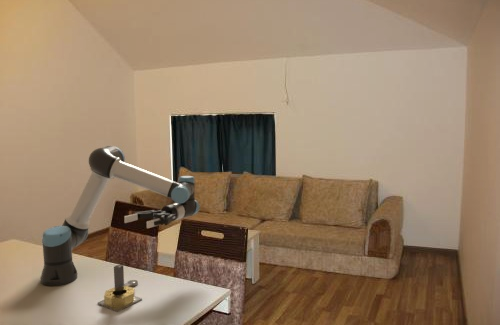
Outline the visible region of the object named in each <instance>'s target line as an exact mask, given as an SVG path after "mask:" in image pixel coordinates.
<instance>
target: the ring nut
mask: <svg viewBox="0 0 500 325" xmlns="http://www.w3.org/2000/svg"><path fill="white" fill-rule="evenodd" d="M104 292H105V293H104V294H103V295H104V296H103V298H104V299H102V300H99V301H98V302H97V305H98V306H101V307H104V308H107V309H109V310H111V311H114V312H116V313H118V312H120V311H123V310H125V309H126V308H128V307H131V306H132V305H135V304H136V303H139V302H140V301H143V297H142V298H141V297H139V296H136V294H135V293H136V292H135V288H134V287H128V286H124V294H122V295H115V286H114V287H112V288H109V289H107V290H105V291H104Z"/></svg>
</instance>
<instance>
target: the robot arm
mask: <svg viewBox="0 0 500 325" xmlns="http://www.w3.org/2000/svg"><path fill="white" fill-rule="evenodd" d="M125 160H126V159H125V155H124V152H123V151H122V150H121V149H120V148H119V147H117V146H115V145H107V146H105V147H100V148H95V149H94V150H93V151H92V152H91V153H90V154H89V157H88V165H89V168H90V171H91V174H90V175H89V177H88V179H87V182H86V184H85V186H84V188H83V190H82V191H81V194H80V196H79V197H78V200H77V202H76V204H75V206H74V208H73V210H72V212H71V213H70V215H67V216H66V217H65V218H64V222H63V223H62V225H57V226H53V227H50V228H48V229H45V230H44V232H43V233H42V240H41V242H42V253H43V255H42V256H43V268H42V270H41V276H40V284H41V285H43V286H46V287H47V286H48V287H54V286H56V287H57V286H62V285H67V284H69V283H73V282H74V281H76V280H77V279H78V270H77V268H76V265H75V264H74V261H73V250H74V249H75V248H77V247H79V246H80V245H81V244H83V243H84V242H85V241H86V239H87V238H88V236H89V229H90V226H91V224H90V220H91V218H92V216H93V214H94V211H95V209H96V207H97V206H98V204H99V202H100V200H101V198H102V196H103V193H104V192H105V189H106V187H107V186H108V183H109V181H110V180H114V178H116V179H119V180H122V181H124V182H127V183H130V184H131V185H135V186H137V187H140V188H143V189H145V190H149V191H151V192H153V193H156V194H159V195H161V196H164V197H167V198H170V199H171V200H172V202H173V203H171V204H167V205H165V206H162V207H161V209H160V210H156V209H152V210H145V211H143V210H142V211H134V212H133V214H129V215H124V216H123V217H124V222H123V223H124V224H127V223H132V222H134V221H138V220H143V219H144V220H146V219H151V220H147V221H146V229H150V228H154V227H157V226H160V225H161V226H168V225H169V224H171V223H173V221H178V220H181V219H184V218H185V219H186V218H189V217H192V216H194V215H197V214H198V213H199V211H200V207H201V206H200V203H199V202H198V201H197V200H196V197H195V196H196V195H195V191H196V190H195V186H196V182H195V177H194V176H192V175H181V176H179V177H178V182H177V181H174V180H171V179H169V178H166V177H164V176H161V175H159V174H156V173H154V172H150V171H147V170H145V169H143V168H141V167H138V166H135V165H133V164H129V163H127V162H126V161H125Z"/></svg>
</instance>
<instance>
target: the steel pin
mask: <svg viewBox="0 0 500 325" xmlns="http://www.w3.org/2000/svg"><path fill="white" fill-rule="evenodd" d="M124 269H125V268H124V265H123V264H117V265H114V266H113V277H114V278H113V280H114V281H113V283H114V287H115V295H122V294H124V284H125V274H124V273H125V272H124Z"/></svg>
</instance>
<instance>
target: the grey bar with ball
mask: <svg viewBox="0 0 500 325" xmlns="http://www.w3.org/2000/svg"><path fill="white" fill-rule="evenodd" d="M138 282H139V281H138V280H137V279H132V280H128V281H127V282H126V283H125V282H124V286H128V287H131V288H134V287H136V286H138V285H139V284H138Z"/></svg>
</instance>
